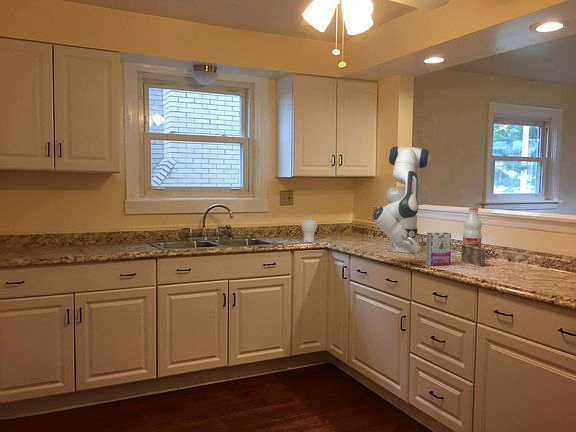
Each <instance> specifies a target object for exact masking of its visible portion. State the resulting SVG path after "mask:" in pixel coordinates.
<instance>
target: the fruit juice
mask: <svg viewBox="0 0 576 432" xmlns="http://www.w3.org/2000/svg"><path fill="white" fill-rule="evenodd" d="M478 212H479V208H478V207H468V215H467V217H466V219H465V220H464V223H463V227H464V230H463V232H462V233H463V235H462V244H467V245H471V246H476V247H480V248H482V238H483V235H482V230H481V229H482V227H483V223H482V221H481V219H480V217H479V213H478Z"/></svg>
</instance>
